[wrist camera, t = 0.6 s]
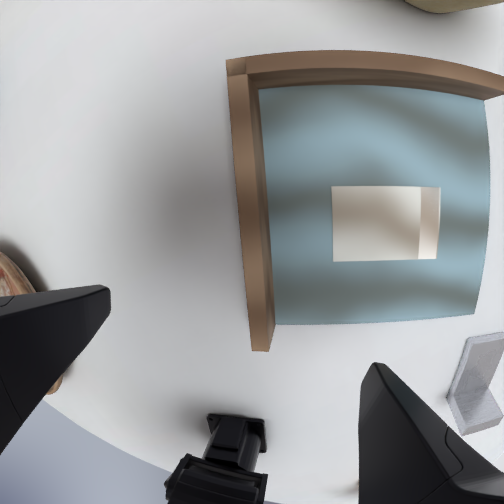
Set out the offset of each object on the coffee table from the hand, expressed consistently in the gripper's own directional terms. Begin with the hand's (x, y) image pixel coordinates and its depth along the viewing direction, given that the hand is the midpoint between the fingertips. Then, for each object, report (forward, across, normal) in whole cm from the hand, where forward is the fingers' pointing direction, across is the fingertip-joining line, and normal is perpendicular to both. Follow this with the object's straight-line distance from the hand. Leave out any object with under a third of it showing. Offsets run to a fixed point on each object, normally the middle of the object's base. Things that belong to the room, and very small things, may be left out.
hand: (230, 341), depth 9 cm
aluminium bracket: (+14, -24, +8) cm, 28 cm away
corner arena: (+14, -8, -4) cm, 16 cm away
